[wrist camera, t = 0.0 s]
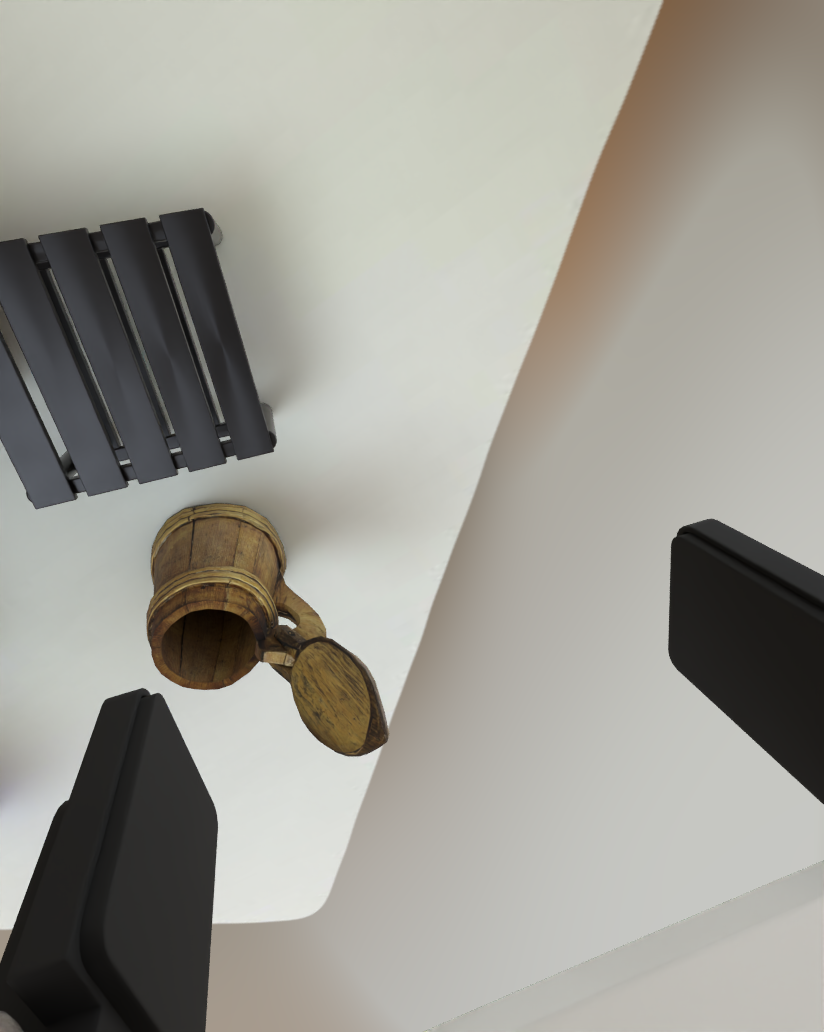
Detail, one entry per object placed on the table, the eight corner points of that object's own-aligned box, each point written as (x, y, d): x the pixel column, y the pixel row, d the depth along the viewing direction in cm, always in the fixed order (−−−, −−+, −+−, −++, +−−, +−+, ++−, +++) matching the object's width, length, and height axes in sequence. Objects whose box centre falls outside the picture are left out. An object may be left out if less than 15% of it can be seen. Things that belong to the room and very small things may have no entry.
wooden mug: (328, 622, 45) (370, 810, 29) (144, 605, 41) (76, 817, 25) (352, 521, 43) (414, 668, 27) (159, 491, 38) (93, 646, 22)
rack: (-20, 263, 31) (-100, 258, 24) (218, 221, 33) (209, 206, 26) (73, 465, 36) (29, 511, 29) (274, 418, 38) (279, 450, 31)
